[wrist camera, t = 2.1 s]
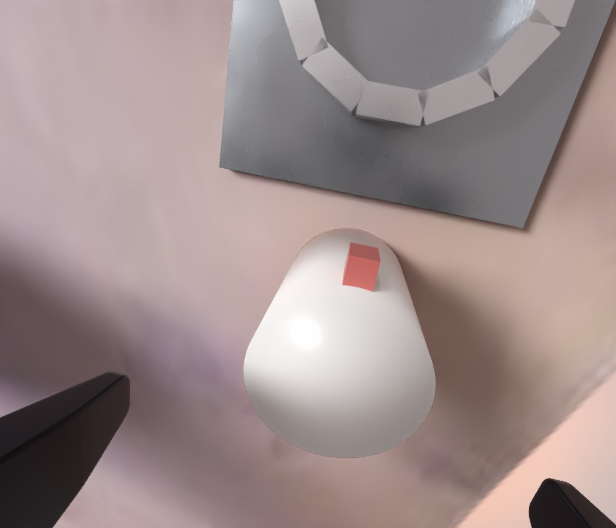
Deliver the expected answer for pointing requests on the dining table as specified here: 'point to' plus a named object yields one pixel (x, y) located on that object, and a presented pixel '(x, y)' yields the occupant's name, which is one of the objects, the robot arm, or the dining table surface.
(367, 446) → the cylinder
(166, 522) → the dining table surface
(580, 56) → the plate
